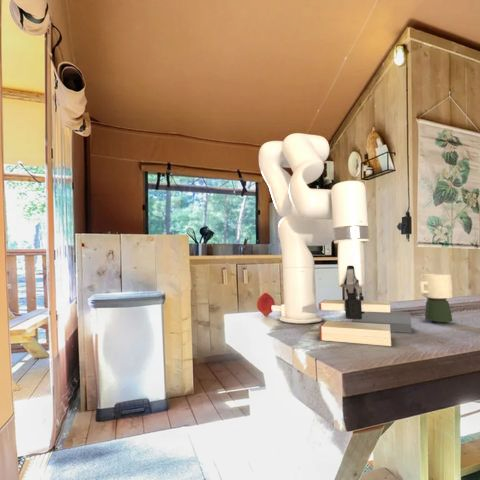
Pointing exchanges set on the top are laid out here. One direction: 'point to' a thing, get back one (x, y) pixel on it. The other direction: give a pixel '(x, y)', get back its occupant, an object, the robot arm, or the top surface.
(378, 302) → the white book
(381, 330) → the cream rectangular block
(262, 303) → the onion
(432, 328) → the top surface
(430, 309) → the character mug
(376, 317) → the grey rectangular block
